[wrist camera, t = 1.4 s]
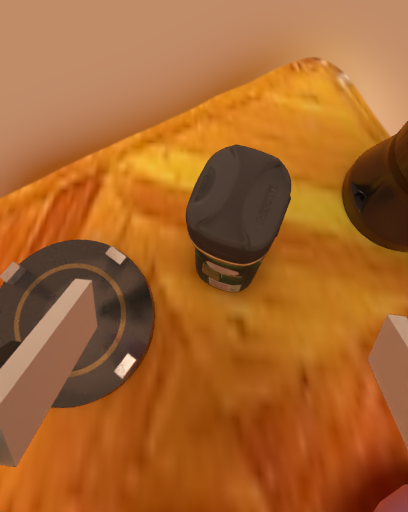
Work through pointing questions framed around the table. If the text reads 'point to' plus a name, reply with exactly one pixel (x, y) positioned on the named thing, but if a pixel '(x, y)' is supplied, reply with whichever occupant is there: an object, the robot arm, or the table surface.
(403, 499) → the ball
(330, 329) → the table surface
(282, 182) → the coffee jar
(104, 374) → the lug base plate
